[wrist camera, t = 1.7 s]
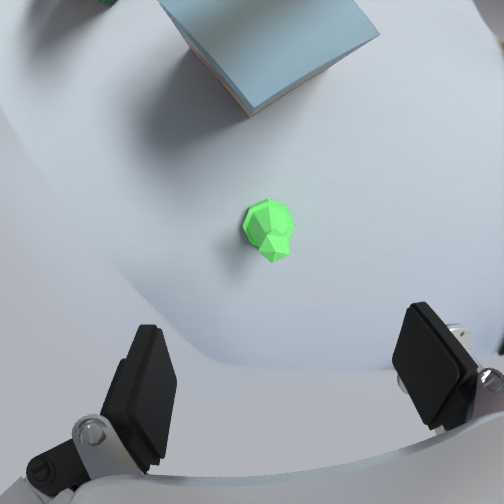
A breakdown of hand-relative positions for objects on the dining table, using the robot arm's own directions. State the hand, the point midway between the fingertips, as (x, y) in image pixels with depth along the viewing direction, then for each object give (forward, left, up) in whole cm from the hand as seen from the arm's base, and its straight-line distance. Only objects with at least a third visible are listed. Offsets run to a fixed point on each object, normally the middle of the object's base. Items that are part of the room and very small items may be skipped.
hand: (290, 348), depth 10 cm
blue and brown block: (+11, -8, -16) cm, 21 cm away
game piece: (-1, 0, -16) cm, 16 cm away
